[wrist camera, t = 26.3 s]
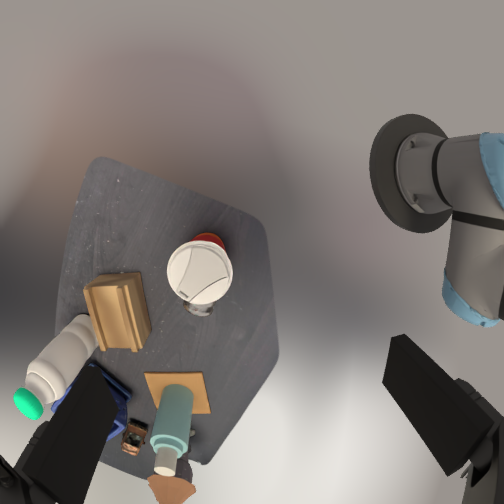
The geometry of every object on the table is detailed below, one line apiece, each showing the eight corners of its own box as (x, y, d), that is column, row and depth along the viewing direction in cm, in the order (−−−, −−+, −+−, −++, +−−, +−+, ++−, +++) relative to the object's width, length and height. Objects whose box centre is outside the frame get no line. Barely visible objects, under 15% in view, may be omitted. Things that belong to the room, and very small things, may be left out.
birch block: (140, 272, 43) (124, 288, 36) (151, 329, 46) (140, 352, 38) (100, 274, 43) (80, 289, 35) (113, 329, 45) (98, 350, 38)
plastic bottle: (189, 481, 31) (179, 463, 29) (151, 478, 30) (138, 459, 29) (196, 405, 50) (190, 383, 48) (166, 405, 50) (159, 383, 48)
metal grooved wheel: (217, 293, 45) (216, 305, 40) (212, 308, 46) (210, 321, 41) (189, 283, 44) (184, 295, 40) (184, 299, 45) (179, 311, 40)
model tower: (150, 430, 52) (129, 530, 23) (172, 410, 51) (153, 526, 22) (183, 446, 54) (175, 543, 25) (207, 428, 53) (205, 538, 24)
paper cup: (211, 281, 45) (204, 320, 31) (174, 252, 43) (152, 280, 29) (241, 245, 44) (248, 271, 30) (204, 215, 42) (193, 227, 28)
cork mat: (202, 371, 49) (201, 373, 48) (210, 411, 51) (210, 413, 51) (144, 371, 48) (143, 373, 47) (158, 411, 51) (158, 412, 50)
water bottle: (106, 322, 45) (41, 408, 20) (101, 349, 46) (47, 435, 22) (76, 307, 44) (1, 379, 19) (73, 334, 45) (9, 409, 21)
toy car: (122, 439, 53) (117, 457, 46) (124, 414, 50) (117, 434, 44) (145, 446, 54) (140, 465, 47) (149, 423, 51) (144, 443, 45)
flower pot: (92, 352, 46) (68, 385, 34) (140, 391, 49) (126, 430, 37) (69, 379, 47) (48, 409, 35) (112, 414, 50) (98, 448, 38)
